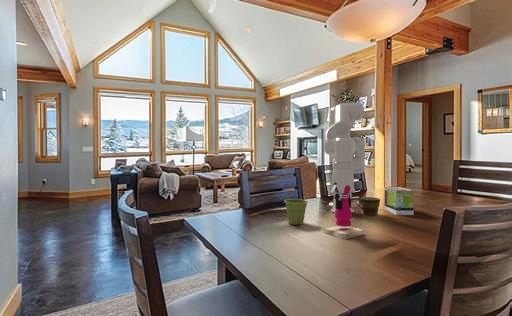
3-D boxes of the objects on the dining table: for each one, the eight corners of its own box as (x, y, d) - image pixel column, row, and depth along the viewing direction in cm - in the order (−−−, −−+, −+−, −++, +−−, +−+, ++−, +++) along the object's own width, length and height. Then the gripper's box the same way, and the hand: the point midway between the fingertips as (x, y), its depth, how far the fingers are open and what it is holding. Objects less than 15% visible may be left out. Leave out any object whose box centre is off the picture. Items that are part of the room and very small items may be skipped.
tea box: (414, 217, 153) (414, 189, 153) (395, 217, 154) (395, 190, 153) (400, 211, 168) (400, 186, 168) (383, 211, 169) (383, 186, 168)
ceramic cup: (376, 214, 159) (376, 197, 159) (382, 218, 150) (382, 200, 149) (353, 214, 161) (353, 196, 161) (357, 218, 151) (357, 199, 151)
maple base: (323, 232, 125) (323, 227, 125) (341, 228, 131) (341, 224, 131) (345, 239, 115) (345, 234, 115) (363, 234, 121) (363, 229, 121)
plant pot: (307, 227, 134) (307, 203, 134) (283, 225, 137) (282, 202, 136) (308, 221, 146) (308, 199, 146) (285, 220, 148) (285, 198, 148)
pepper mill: (340, 227, 118) (340, 180, 118) (331, 223, 125) (331, 178, 125) (355, 226, 120) (355, 179, 120) (345, 222, 127) (345, 178, 127)
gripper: (349, 165, 130) (348, 205, 131) (322, 166, 121) (323, 209, 121) (363, 166, 124) (363, 207, 124) (336, 167, 115) (336, 212, 115)
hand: (343, 208), depth 123 cm, fingers closed on pepper mill, 5 cm apart
